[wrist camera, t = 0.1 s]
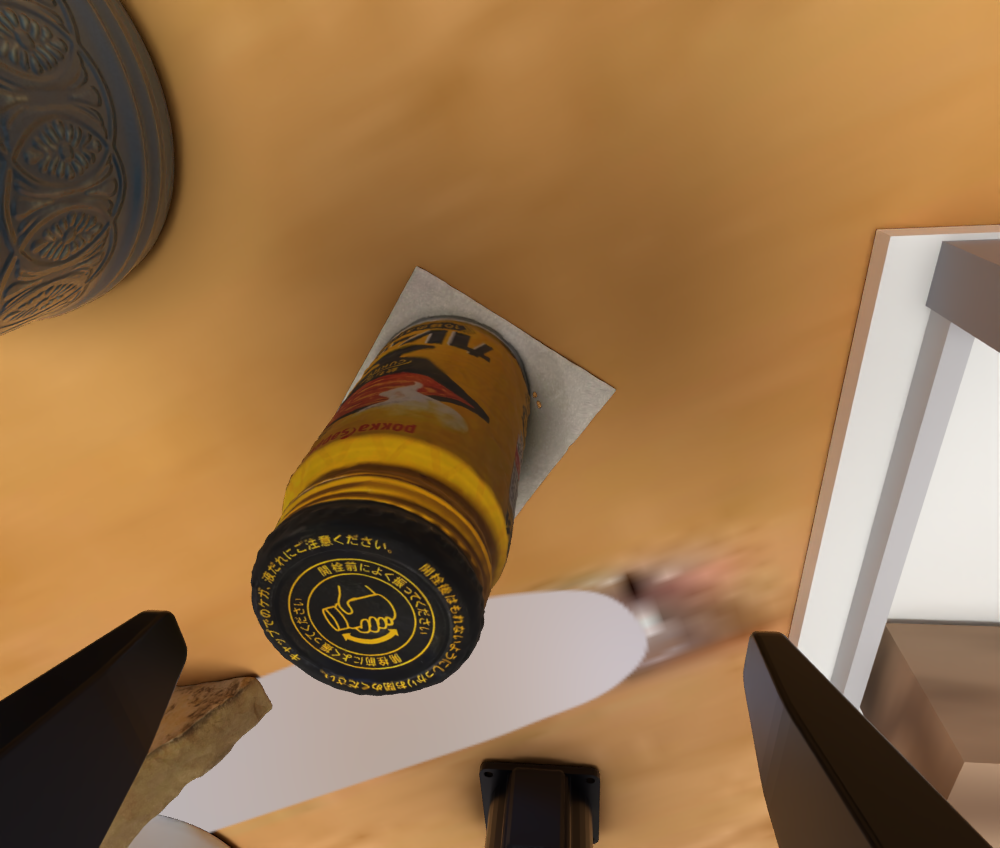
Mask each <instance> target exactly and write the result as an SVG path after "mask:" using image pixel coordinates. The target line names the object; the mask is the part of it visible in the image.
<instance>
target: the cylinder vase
mask: <svg viewBox="0 0 1000 848" xmlns="http://www.w3.org/2000/svg"><path fill="white" fill-rule="evenodd" d="M128 848H230V847H229V846H228V845H227V844H226V843H224V842H223V841H221V840H220V839H218V838H217V837H215V836H214V835H212V834H210V833H208V832H207V831H204V830H203V829H201V828H198V827H196V826H194V825H191V824H189V823H186V822H183V821H180V820H177V819H174V818H170V817H166V816H162V815H157V816H156V817H154V818H153V819H151V820H150V821H149V822H148V823H147V824H146V825H145V826H144V827H143V828H142V830H141V831H140V832H139V834H138V835H137V836H136V837H135V838H134V840H133V841H132V842H131V844H130V845H129V847H128Z"/></svg>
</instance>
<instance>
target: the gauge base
mask: <svg viewBox="0 0 1000 848" xmlns="http://www.w3.org/2000/svg"><path fill="white" fill-rule="evenodd" d="M886 623H900V624H934V625H968V626H1000V225H977V226H951V227H926V228H901V229H877V230H876V235H875V240H874V244H873V249H872V254H871V258H870V263H869V267H868V272H867V277H866V281H865V286H864V291H863V295H862V300H861V305H860V309H859V314H858V319H857V323H856V328H855V332H854V337H853V342H852V346H851V351H850V356H849V360H848V365H847V370H846V374H845V379H844V383H843V388H842V393H841V397H840V402H839V407H838V411H837V416H836V421H835V425H834V430H833V435H832V439H831V444H830V448H829V453H828V458H827V462H826V467H825V472H824V476H823V481H822V486H821V490H820V495H819V499H818V504H817V509H816V513H815V518H814V523H813V527H812V532H811V537H810V541H809V546H808V551H807V555H806V560H805V564H804V569H803V574H802V578H801V583H800V588H799V592H798V597H797V602H796V606H795V611H794V615H793V620H792V625H791V629H790V634H789V640H790V641H791V642H792V643H793V644H794V645H795V646H796V647H797V648H798V649H799V650H800V651H801V652H802V653H803V654H804V655H805V656H806V657H807V658H808V659H809V660H810V661H811V663H812V664H813V665H814V666H815V667H816V668H817V669H818V670H819V671H820V672H821V673H822V674H823V675H824V676H825V677H826V678H827V679H828V680H829V681H830V682H831V683H832V684H833V685H834V686H835V687H836V688H837V689H838V690H839V691H840V692H841V693H842V694H843V695H844V696H845V697H846V698H847V699H848V700H849V701H850V702H851V703H852V704H853V705H854V706H855V707H856V708H857V709H858V710H859V711H860V712H861V713H862V711H861V709H860V705H861V701H862V698H863V695H864V692H865V689H866V685H867V682H868V679H869V676H870V673H871V669H872V666H873V663H874V660H875V657H876V653H877V650H878V647H879V644H880V641H881V637H882V634H883V631H884V628H885V625H886ZM862 714H863V713H862Z"/></svg>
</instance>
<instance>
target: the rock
mask: <svg viewBox="0 0 1000 848" xmlns="http://www.w3.org/2000/svg"><path fill="white" fill-rule="evenodd" d="M271 709H272V704H271V701H270V700H269V698H268V696H267V695H266V693H265V691H264V689H263V687H262V685H261V684H260V682H259V681H258V680H257V679H256V678H255V677H240V678H233V679H231V680H224V681H219V682H208V683H200V684H198V685H190V686H184V687H178V686H176V687H175V689H174V691H173V694H172V696H171V699H170V701H169V704H168V706H167V709H166V711H165V714H164V716H163V718H162V721H161V723H160V726H159V728H158V731H157V733H156V736H155V738H154V740H153V743H152V745H151V747H150V749H149V752H148V754H147V756H146V758H145V760H144V762H143V764H142V766H141V768H140V770H139V772H138V774H137V776H136V778H135V780H134V782H133V784H132V786H131V788H130V790H129V791H128V793H127V795H126V797H125V799H124V801H123V803H122V805H121V807H120V809H119V811H118V813H117V815H116V816H115V818H114V820H113V822H112V824H111V826H110V828H109V830H108V832H107V834H106V836H105V838H104V840H103V841H102V843H101V845H100V847H99V848H128V847H129V845H130V844H131V842H132V841H133V840H134V838H135V837H136V836H137V835H138V834H139V832H140V831H141V830H142V828H143V827H144V826H145V825H146V824H147V823H148V822H149V821H150V820H151V819H153V818H154V817H156V816H157V815H158V814H159V813H160V812H161V811H162V810H163V809H164V808H165V807H166V806H167V805H168V804H169V803H170V802H171V801H172V800H173V799H174V798H175V797H176V796H178V795H179V793H180V792H181V790H182V789H183V787H184V786H185V785H186V784H187V783H189V782H190V781H192V780H194V779H196V778H198V777H201V776H203V775H204V774H205V773H207V772H208V771H209V770H210V769H212V768H213V767H214V766H215V765H217V764H218V763H219V762H220V761H221V760H222V759H223V758H224V757H225V756H226V755H227V754H228V753H229V752H230V751H231V749H232V747H233V746H234V744H235V743H236V742H237V741H238V740H239V739H240V738H241V737H242V736H243V735H244V734H246V733H247V732H248V731H249V730H250V729H252V728H253V727H254V726H256V724H257V723H258V722H259V721H260V720H261V719H262V718H263V716H264V715H265V714H266V713H267V712H269V711H270V710H271Z"/></svg>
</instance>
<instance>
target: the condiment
mask: <svg viewBox="0 0 1000 848" xmlns="http://www.w3.org/2000/svg"><path fill="white" fill-rule="evenodd" d="M615 391H616V389H614V388H613V387H611V386H609V385H608V384H606V383H605V382H603V381H601V380H599V379H598V378H596V377H594V376H593V375H591V374H590V373H589V372H587V371H586V370H584V369H582V368H581V367H579V366H577V365H575V364H573V363H571V362H570V361H568V360H567V359H566V358H564V357H562V356H561V355H559V354H558V353H556V352H555V351H553V350H551V349H549V348H548V347H546V346H545V345H543V344H542V343H540V342H539V341H537V340H535V339H534V338H532V337H531V336H529V335H528V334H526V333H525V332H523V331H522V330H520V329H519V328H517V327H516V326H514V325H513V324H511V323H509V322H508V321H506V320H505V319H503V318H501V317H500V316H498V315H497V314H495V313H493V312H491V311H490V310H488V309H487V308H485V307H484V306H482V305H481V304H479V303H477V302H476V301H474V300H473V299H471V298H469V297H468V296H466V295H465V294H463V293H461V292H460V291H458V290H456V289H454V288H453V287H451V286H450V285H448V284H447V283H445V282H444V281H442V280H440V279H439V278H437V277H436V276H434V275H432V274H430V273H429V272H427V271H425V270H423V269H421V268H419V267H417V266H416V268H415V270H414V272H413V273H412V275H411V277H410V279H409V281H408V283H407V284H406V286H405V288H404V290H403V292H402V293H401V295H400V297H399V299H398V301H397V303H396V305H395V306H394V308H393V310H392V312H391V314H390V316H389V318H388V319H387V321H386V323H385V325H384V327H383V328H382V330H381V332H380V334H379V336H378V338H377V340H376V341H375V343H374V345H373V347H372V349H371V350H370V352H369V354H368V356H367V358H366V360H365V361H364V363H363V365H362V367H361V369H360V371H359V372H358V374H357V376H356V378H355V380H354V381H353V383H352V385H351V387H350V389H349V391H348V392H347V394H346V396H345V398H344V399H343V401H342V403H341V405H340V407H339V409H338V410H337V412H336V414H335V416H334V417H333V419H332V420H331V421H330V422H329V424H328V425H327V426H326V428H325V429H324V431H323V432H322V434H321V435H320V436H319V438H318V440H317V441H315V443H314V444H313V446H312V448H311V450H310V451H309V453H308V454H307V455H306V457H305V458H304V459H303V461H302V463H301V464H300V465H299V467H298V468H297V470H296V471H295V473H294V474H293V475H291V478H290V481H289V483H288V485H287V488H286V492H285V497H284V501H283V507H282V516H281V518H280V519H279V521H278V524H277V526H276V528H275V530H274V531H273V532H272V533H271V534H269V535H268V537H267V539H266V540H265V543H264V545H263V546H262V547H261V549H260V550H259V551H258V554H257V559H256V563H255V564H254V566H253V570H252V578H251V586H252V605H253V609H254V612H255V614H256V616H257V618H258V621H259V623H260V625H261V627H262V629H263V630H264V633H265V636H266V637H267V639H268V640H269V641H270V642H271V643H272V644H273V646H274V647H275V648H276V649H277V650H278V651H279V652H280V654H281V655H282V656H283V657H284V658H286V659H287V660H289V661H290V662H292V663H293V664H295V665H296V666H297V667H299V668H300V669H301V670H303V671H304V672H305V673H307V674H308V675H310V676H311V677H313V678H315V679H316V680H318V681H321V682H323V683H325V684H327V685H330V686H332V687H334V688H336V689H340V690H344V691H348V692H352V693H355V694H358V695H373V696H374V695H375V696H382V695H393V694H398V693H408V692H412V691H416V690H421V689H423V688H425V687H429V686H432V685H435V684H438V683H441V682H443V681H444V680H445V679H447V678H448V677H449V676H450V675H452V674H453V673H454V672H456V671H457V670H458V669H459V668H460V667H461V665H462V664H463V663H464V662H465V661H466V660H467V659H468V658H469V656H470V655H471V653H472V651H473V650H474V648H475V646H476V644H477V642H478V641H479V638H480V634H481V631H482V629H483V626H484V612H485V611H484V609H485V606H486V603H487V600H488V597H489V595H490V592H491V589H492V588H493V586H494V585H495V584H496V582H497V581H498V579H499V578H500V576H501V573H502V571H503V569H504V567H505V564H506V561H507V557H508V553H509V548H510V544H511V543H510V542H511V538H512V531H513V524H514V518H515V517H516V516H517V514H518V513H519V512H520V511H521V509H522V508H523V506H524V505H525V503H526V502H527V501H528V500H529V498H530V497H531V496H532V494H533V493H534V492H535V491H536V489H537V488H538V487H539V486H540V484H541V483H542V482H543V481H544V479H545V478H546V477H547V475H548V474H549V473H550V471H551V470H552V469H553V467H554V466H555V465H556V464H557V463H558V461H559V460H560V459H561V458H562V456H563V455H564V454H565V453H566V451H567V450H568V447H569V446H570V445H572V444H573V443H574V441H575V440H576V439H577V438H578V437H579V436H580V434H581V433H582V432H583V431H584V430H585V428H586V427H587V426H588V424H589V423H590V421H591V420H592V419H593V418H594V416H595V415H596V414H597V413H598V412H599V411H600V410H601V408H602V407H603V406H604V405H605V403H606V402H607V401H608V400H609V399H610V397H611V396H612V395H613V394H614V392H615ZM533 392H536V393H537V397H536V398H534V397H533ZM537 401H540V402H541V408H538V406H537Z"/></svg>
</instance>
